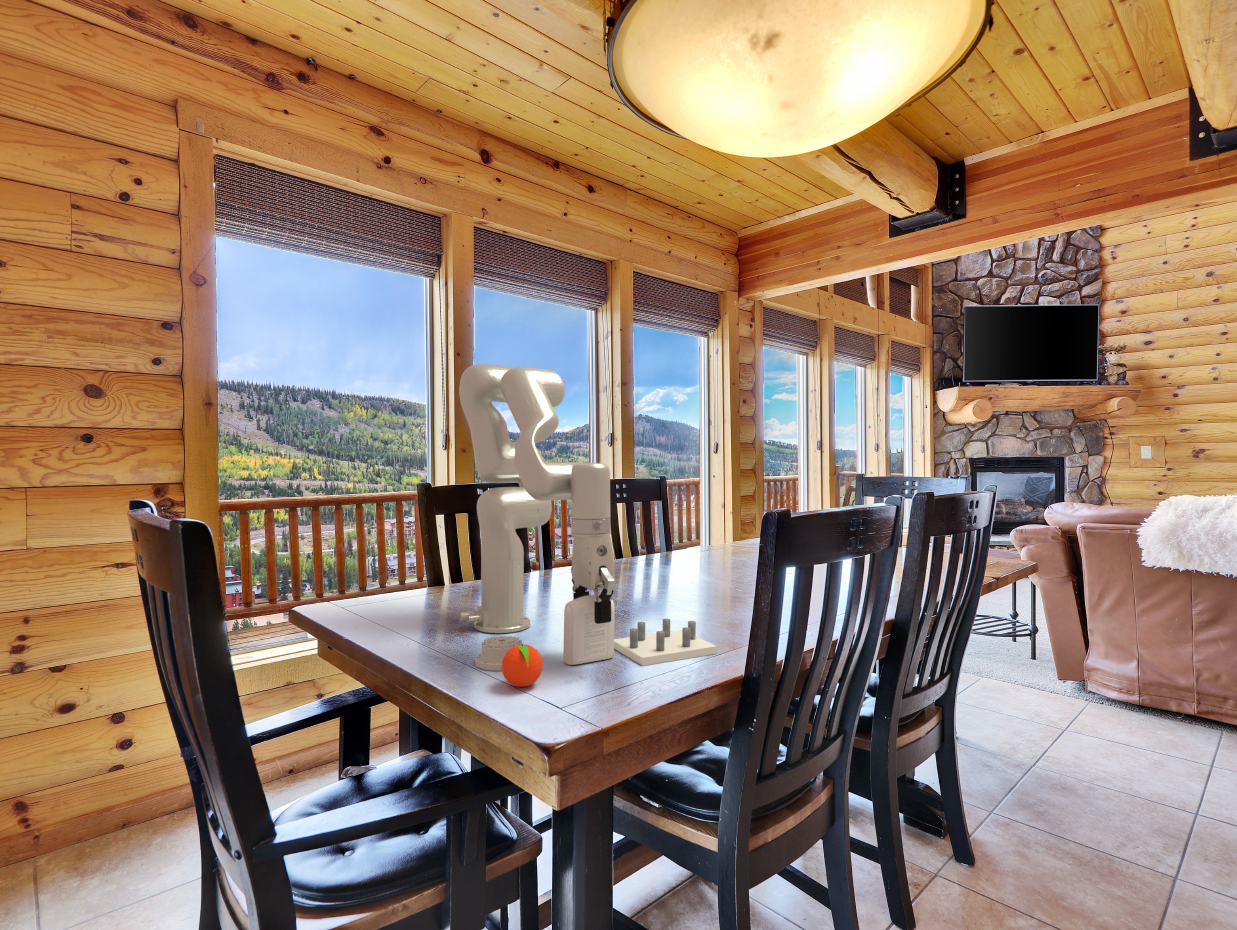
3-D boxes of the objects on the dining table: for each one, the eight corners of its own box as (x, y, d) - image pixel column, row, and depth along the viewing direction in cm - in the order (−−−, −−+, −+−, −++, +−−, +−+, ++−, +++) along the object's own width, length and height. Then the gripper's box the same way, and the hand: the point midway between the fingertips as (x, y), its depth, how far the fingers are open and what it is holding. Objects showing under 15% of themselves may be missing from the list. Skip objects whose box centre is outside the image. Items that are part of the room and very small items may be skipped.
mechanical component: (463, 666, 121) (503, 676, 115) (463, 642, 121) (503, 651, 115) (500, 652, 129) (539, 661, 124) (500, 630, 129) (539, 638, 124)
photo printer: (605, 652, 129) (606, 590, 128) (617, 658, 125) (618, 594, 125) (560, 661, 123) (560, 596, 123) (571, 668, 119) (571, 601, 119)
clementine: (548, 692, 107) (549, 650, 107) (506, 697, 105) (507, 654, 104) (537, 676, 115) (537, 636, 114) (498, 681, 112) (498, 640, 112)
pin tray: (642, 665, 121) (642, 639, 121) (611, 647, 132) (611, 622, 132) (716, 653, 129) (717, 628, 128) (681, 636, 140) (681, 613, 140)
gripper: (629, 530, 117) (630, 624, 117) (589, 523, 133) (590, 606, 133) (592, 532, 114) (593, 629, 114) (555, 525, 129) (556, 610, 129)
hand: (591, 617), depth 123 cm, fingers open, 9 cm apart
